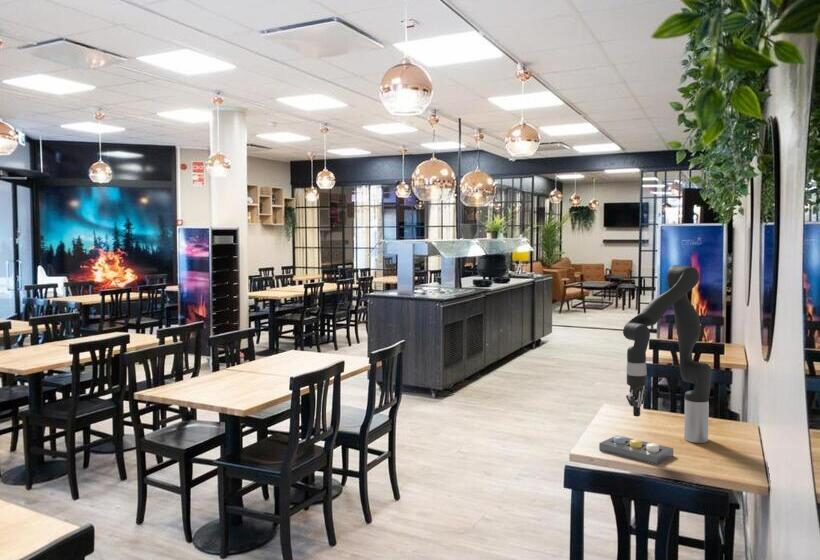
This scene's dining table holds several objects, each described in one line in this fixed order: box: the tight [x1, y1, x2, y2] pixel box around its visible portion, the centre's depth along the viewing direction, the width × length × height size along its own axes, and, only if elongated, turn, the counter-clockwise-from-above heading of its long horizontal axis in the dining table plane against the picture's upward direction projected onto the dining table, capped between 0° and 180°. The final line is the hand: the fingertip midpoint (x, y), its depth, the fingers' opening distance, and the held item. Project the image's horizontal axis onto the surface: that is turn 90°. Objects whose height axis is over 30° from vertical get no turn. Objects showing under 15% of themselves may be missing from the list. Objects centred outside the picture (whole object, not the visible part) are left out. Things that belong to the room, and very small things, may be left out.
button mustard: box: [630, 438, 643, 449], centre depth 253 cm, size 5×5×4 cm
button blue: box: [613, 435, 626, 445], centre depth 258 cm, size 5×5×4 cm
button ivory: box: [646, 442, 660, 453], centre depth 248 cm, size 5×5×4 cm
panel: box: [598, 435, 674, 466], centre depth 253 cm, size 14×24×3 cm, turn 43°
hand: (636, 415), depth 254 cm, fingers closed
